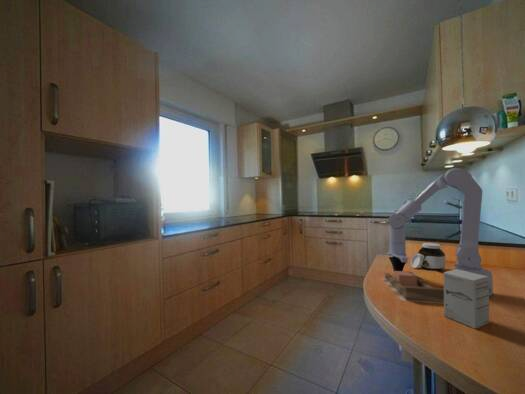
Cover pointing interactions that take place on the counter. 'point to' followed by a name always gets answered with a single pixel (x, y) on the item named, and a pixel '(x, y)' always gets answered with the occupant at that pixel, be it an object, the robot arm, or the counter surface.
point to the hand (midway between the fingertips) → (398, 275)
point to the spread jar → (429, 257)
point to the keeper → (406, 278)
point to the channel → (415, 291)
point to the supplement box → (466, 297)
